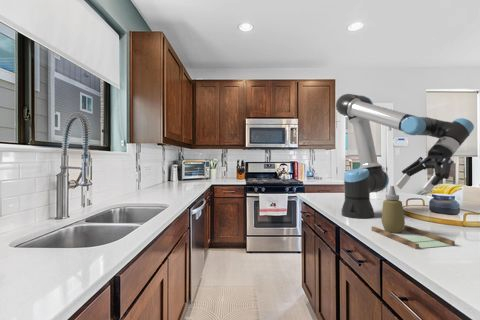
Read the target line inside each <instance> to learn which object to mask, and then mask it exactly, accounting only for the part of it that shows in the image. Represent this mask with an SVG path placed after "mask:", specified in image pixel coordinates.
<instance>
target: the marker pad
mask: <svg viewBox="0 0 480 320" xmlns="http://www.w3.org/2000/svg"><path fill="white" fill-rule="evenodd" d="M404 238H405V239H407V240H410V241H412V242H415V243H417V244H419V249H420V248H421V249H429V248H430V249H431V247H433V248H443V247H442V246H444V247H451V245H448V244H445V243H442V242H440V241H437V240H434V239H431V238H428V237H425V236H422V235H420V236H412V237H410V236H409V237H404Z"/></svg>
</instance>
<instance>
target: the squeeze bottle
mask: <svg viewBox="0 0 480 320" xmlns="http://www.w3.org/2000/svg"><path fill="white" fill-rule="evenodd" d="M388 190H389V191H388V194H386V195H385V199H384V200H383V201H382V212H381V224H382V227H383V230H385V231H387V232H390V233H392V234H398V233H399V234H400V233H402V232H403V230H404V229H403V227H404V225H406V224H405V223H406V221H405V214H404V207H403V201H401V200H400V195H399V194H397V193H396V189H395V186H394V185H390V186H389V189H388Z"/></svg>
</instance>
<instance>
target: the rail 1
mask: <svg viewBox="0 0 480 320" xmlns="http://www.w3.org/2000/svg"><path fill="white" fill-rule="evenodd" d="M371 231H372V232H374V233H377V234H380V235H382V236H384V237H386V238H389V239H391V240H393V241H396V242H398V243H401V244H403V245H405V246H407V245H408V247H410V248H412V249H414V248H415V250H416V249H417V250H419V249H420V248H419V244H417V243H415V242H412V241H410V240H407V239H405V238H406V237H402V236H399V235H397V234H396V233H392V232H387V231H385V229H381V228H380V227H376V226H371Z"/></svg>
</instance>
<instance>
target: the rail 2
mask: <svg viewBox="0 0 480 320" xmlns="http://www.w3.org/2000/svg"><path fill="white" fill-rule="evenodd" d="M403 230H405V231H408V232H411V233H414V234H417V235H420V236H425V237H428V238H431V239H434V240H437V241H440V242H442V243H445V244H448V245H450V247H452V246H453V247H454V246H456V243H455V242H456V241H455V240H453V239H450V238H447V237H444V236H440V235H438V234H434V233H431V232H428V231H425V230H423V229H420V228H417V227H412V226H411V225H407V224H404V227H403Z"/></svg>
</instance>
